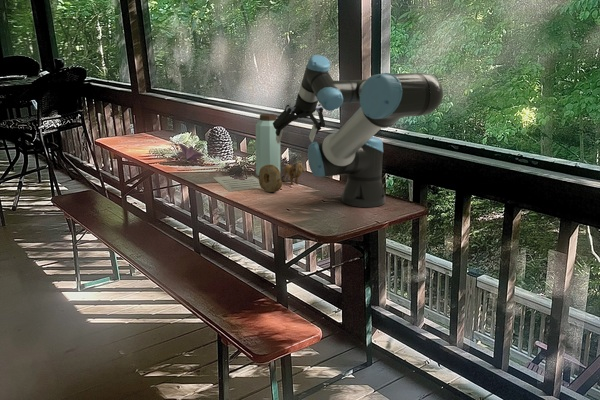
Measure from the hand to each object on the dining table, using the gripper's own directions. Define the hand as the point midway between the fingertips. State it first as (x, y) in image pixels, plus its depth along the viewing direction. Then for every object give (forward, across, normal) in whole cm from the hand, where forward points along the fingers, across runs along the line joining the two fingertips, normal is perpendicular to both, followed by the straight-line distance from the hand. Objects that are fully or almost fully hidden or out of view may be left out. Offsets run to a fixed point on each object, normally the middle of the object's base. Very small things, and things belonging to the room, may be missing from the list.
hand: (294, 140), depth 217 cm
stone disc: (+12, +12, +14) cm, 22 cm away
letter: (+21, +18, 0) cm, 28 cm away
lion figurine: (+17, -1, +7) cm, 18 cm away
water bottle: (+25, +4, -5) cm, 25 cm away
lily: (+43, +29, -31) cm, 60 cm away
